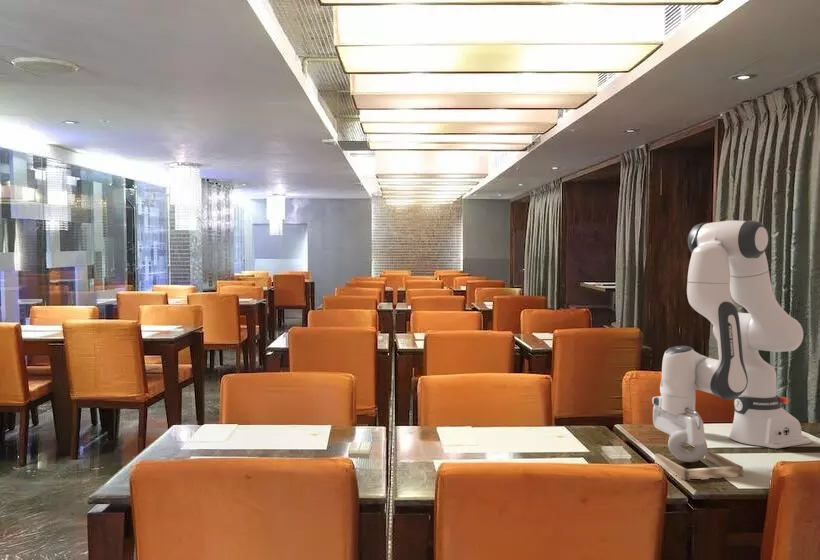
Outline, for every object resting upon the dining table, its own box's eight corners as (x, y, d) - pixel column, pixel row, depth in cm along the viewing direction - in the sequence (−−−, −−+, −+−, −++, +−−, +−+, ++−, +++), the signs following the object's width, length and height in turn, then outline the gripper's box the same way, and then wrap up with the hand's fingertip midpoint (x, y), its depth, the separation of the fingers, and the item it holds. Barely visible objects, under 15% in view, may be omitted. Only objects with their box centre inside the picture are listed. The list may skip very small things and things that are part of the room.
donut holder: (708, 458, 183) (708, 450, 183) (742, 476, 169) (742, 466, 169) (654, 462, 181) (654, 453, 181) (684, 480, 166) (684, 471, 166)
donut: (708, 458, 179) (706, 428, 176) (708, 466, 176) (706, 435, 173) (669, 455, 184) (667, 425, 180) (668, 462, 181) (666, 432, 178)
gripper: (711, 412, 173) (710, 463, 174) (668, 395, 194) (668, 441, 194) (689, 413, 172) (688, 465, 173) (649, 396, 193) (648, 442, 193)
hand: (677, 452), depth 184 cm, fingers closed
